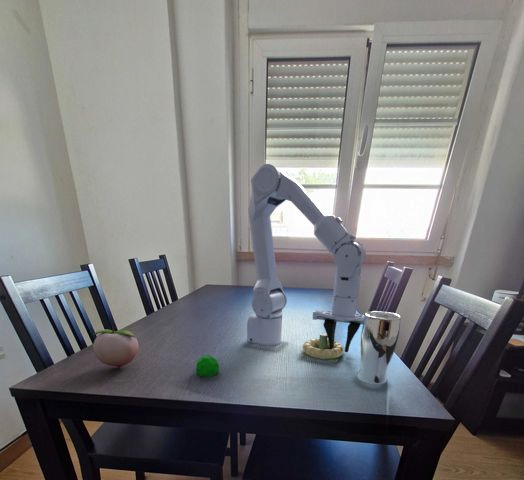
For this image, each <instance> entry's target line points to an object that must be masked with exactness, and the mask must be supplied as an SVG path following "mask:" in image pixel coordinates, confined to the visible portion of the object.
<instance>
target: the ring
mask: <svg viewBox="0 0 524 480" xmlns="http://www.w3.org/2000/svg"><path fill="white" fill-rule="evenodd" d="M301 348H302V349H301V350H302V351H303V352H305V353H306V354H307V355H309V356H312V357H314V358H313V359H317V358H320V359H319V360H322V359H334V358H337V357H338V358H340V357H341V356H343V354H344V353H345V347H344V346H343V345H342V344H341V343H340V342H339V341H335V340H334V348H333V349H330V348H329V340H328V339H327V347H326V348H328V349H319V338H312V339H309V340H308V339H307V340H306V341H304V343H303V344H302V346H301Z"/></svg>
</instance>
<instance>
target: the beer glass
mask: <svg viewBox="0 0 524 480" xmlns="http://www.w3.org/2000/svg"><path fill="white" fill-rule="evenodd" d="M401 321H402V316H401V315H399V314H397V313H394V312H388V311H380V310H379V311H378V310H373V311H366V312H365V319H364V323H363V324H362V328H361V333H360V365H359V370H358V374H357V379H358V380H359V381H361V382H363V383H366V384H370V385H377V386H378V385H379V386H380V385H384V384H385V383H387V374H388V373H387V372H388V368H389V365H390V363H391V360H392V358H393V356H394V354H395V353H394V352H395V351H396V348H397V345H398V340H399V337H400V329H401Z"/></svg>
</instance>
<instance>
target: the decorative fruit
mask: <svg viewBox="0 0 524 480" xmlns="http://www.w3.org/2000/svg"><path fill="white" fill-rule="evenodd" d="M114 327H115V326H114V325H112V326H111V329H101V330H97V331H96V332H94V334H93V336H96V335H97V336H96V337H95V339H94V340H93V345H92V349H93V353H94V355H95V357H96V358H97V359H98V361H99V362H100V363H102V364H103V365H106V366H111V367H117V368H121V367H124V366H126V365H128V364H130V363H131V362H132V361H133V360H134V359H135V358H136V357H137V354H138V352H139V347H140V346H139V342H138V340H137V336H136V335H135V334H134V333H133V332H132V331H129V330H126V329H117V330H116V331H115V328H114Z"/></svg>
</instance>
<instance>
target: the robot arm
mask: <svg viewBox="0 0 524 480" xmlns="http://www.w3.org/2000/svg"><path fill="white" fill-rule="evenodd" d="M250 185H251V193H250V197H249V201H248V202H249V203H248V205H247V213H248V215H247V216H248V222H249V228H250V237H251V243H252V244H251V245H252V252H253V259H254V266H255V275H256V280H257V281H256V283H255V285H254V286H253V289H252V294H253V295H252V300H251V308H252V311H253V312H254V313H250V315H249V316H248V319H247V323H246V342H247V343H252V344H257V345H260V346H266V347H268V346H269V347H271V346H272V347H273V346H277V345H280V344H281V343H282V332H283V331H282V329H283V328H282V327H283V310H284V309H285V307H286V306H287V303H288V300H287V299H288V298H287V295H286V293H285V292H284V288H283V284H282V283H281V281H280V280H279V278H278V272H277V263H276V255H275V245H274V238H273V229H272V221H271V220H272V219H271V217H272V216H271V215H272V214H273V213H274V211H275V210H276V209H277V208H278V207H279V206H280V205H282V204H283V203H285V202H286V201H288V202H291V203H292V204H293V205H294V206H295V207H296V208H297V209H298V211H300V213H302V215H303V216H304V217H305V218H306V219H307V220H308V221H309V222H310V223H311V224H312V225H313V236H314V237H315V238H316V239H317V240H318V241H319V242H320V243H321V245H322V246H323V247H324V248H325V249H326V250H327V252H328V253H329V254H330V255H332V256H333V257H332V258H333V262H334V263H333V264H334V265H335V267H336V268H335V276H334V284H333V292H332V302H331V310H328V311H327V310H314V311H313V312H312V317H311V318H312V319H311V320H315V321H318V320H320V321H323V328H324V330H325V334H327V336H328V338H327V340H329V348H330V349H333V348H334V341H335V339H336V338H335V337H336V336H335V334H336V327H337V322H338V323H347V324H348V326H347V333H346V342H345V347H344V353H348V352H349V349H350V346H351V343H352V341H353V339H354V337H355V335H356V334H357V332H358V330H359V329H360V327H361V325H363V323H364V319H365V315H364V314H360V313H357V306H358V299H359V292H360V285H361V273H362V264H363V262H364V261H365V259H366V249H365V247H364V246H363V243H362V242H359V241H355V240H356V238H357V237H356V235H355V234H351V233H350V232H349V231H348V230H347V229H346V227H344V225H343V224H342V223H343V220H342V219H341V217H340V216H335V215H334V214H327V215H326V214H325V212H323V210H322V209H321V208H320V206H319V205H318V204H317V203H316V202H315V200H314V199H313V198H312V197H311V195H310V193H308V191H307V190H306V189H305V188H304V186H302V184H301V183H300V182H299V181H297V179H296V178H293V176H292V175H291V173H289V172H286V171H283V170H281V169H279V168H277V167H276V166H274V165H273V164H271V163H265V164H264V163H263V164H262V165H260V167H258V168H257V170H256V172H255V173H254V174H253V176H252V177H251V179H250Z"/></svg>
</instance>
